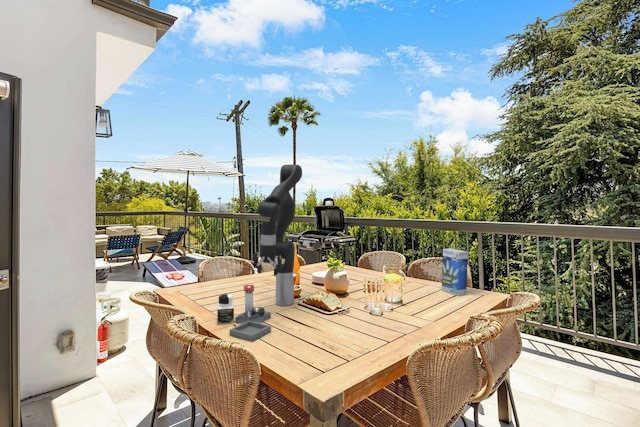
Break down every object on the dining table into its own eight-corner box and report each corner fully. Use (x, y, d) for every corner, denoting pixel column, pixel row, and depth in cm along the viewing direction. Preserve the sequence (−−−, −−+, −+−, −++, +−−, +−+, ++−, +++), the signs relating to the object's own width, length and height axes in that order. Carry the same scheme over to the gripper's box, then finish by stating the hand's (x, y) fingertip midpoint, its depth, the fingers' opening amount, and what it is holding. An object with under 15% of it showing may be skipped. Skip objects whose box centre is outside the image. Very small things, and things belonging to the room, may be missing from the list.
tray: (249, 326, 153) (249, 320, 153) (270, 331, 147) (270, 325, 147) (229, 335, 143) (229, 329, 143) (252, 341, 137) (252, 335, 137)
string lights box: (441, 290, 214) (442, 248, 213) (450, 289, 217) (451, 248, 216) (457, 296, 202) (459, 252, 201) (467, 294, 205) (468, 251, 204)
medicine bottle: (217, 324, 155) (217, 297, 154) (217, 319, 162) (217, 293, 161) (233, 323, 157) (233, 296, 156) (233, 317, 164) (233, 292, 163)
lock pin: (248, 314, 161) (248, 284, 161) (256, 315, 159) (256, 285, 158) (241, 317, 157) (241, 286, 157) (249, 318, 155) (249, 287, 154)
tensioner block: (254, 313, 169) (254, 304, 169) (270, 317, 164) (270, 307, 164) (235, 322, 158) (235, 311, 158) (252, 326, 153) (252, 315, 153)
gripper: (284, 242, 172) (283, 273, 175) (258, 239, 176) (257, 269, 179) (278, 246, 165) (277, 278, 168) (251, 242, 169) (250, 274, 172)
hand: (267, 274), depth 174 cm, fingers open, 8 cm apart
